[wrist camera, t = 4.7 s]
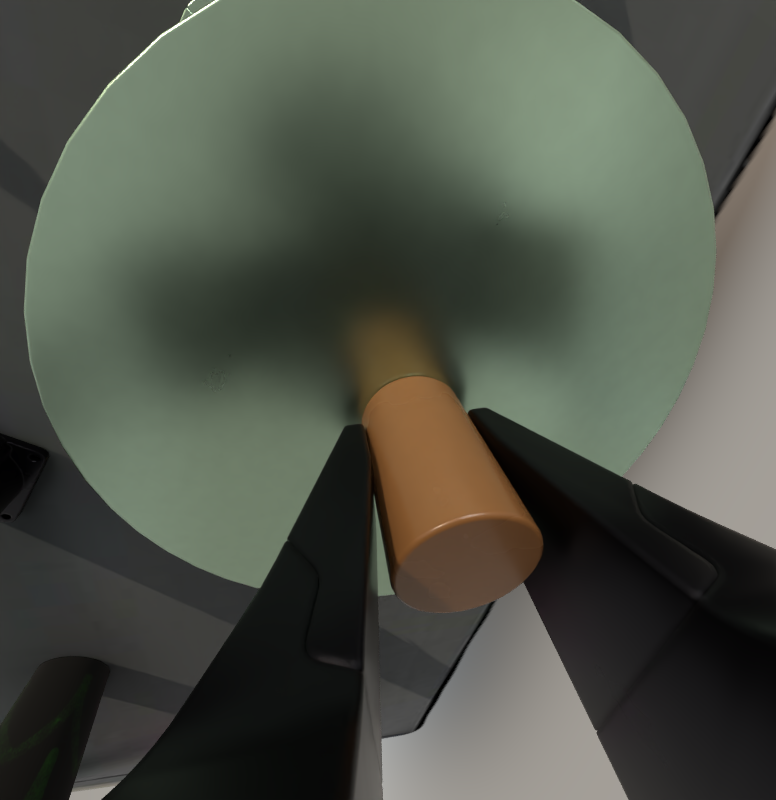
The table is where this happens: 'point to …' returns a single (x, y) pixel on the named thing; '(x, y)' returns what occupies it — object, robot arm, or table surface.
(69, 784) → the cup
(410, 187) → the pot lid
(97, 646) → the table surface
